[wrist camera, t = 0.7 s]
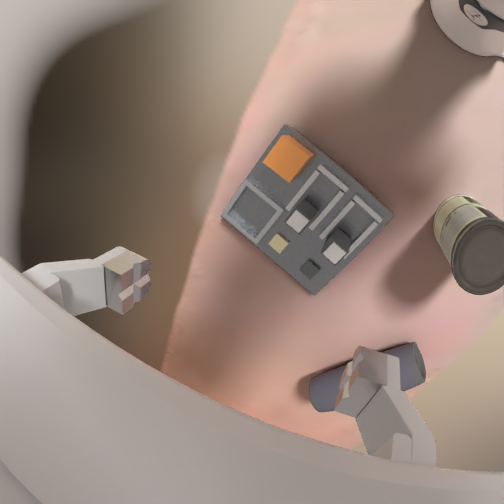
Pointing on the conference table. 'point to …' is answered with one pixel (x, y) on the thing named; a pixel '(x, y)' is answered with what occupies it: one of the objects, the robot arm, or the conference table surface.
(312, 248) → the panel
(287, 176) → the orange block
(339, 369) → the bluetooth speaker
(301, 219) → the block
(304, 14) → the conference table surface
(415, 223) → the conference table surface
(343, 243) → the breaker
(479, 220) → the coffee can
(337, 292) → the conference table surface
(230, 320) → the conference table surface
